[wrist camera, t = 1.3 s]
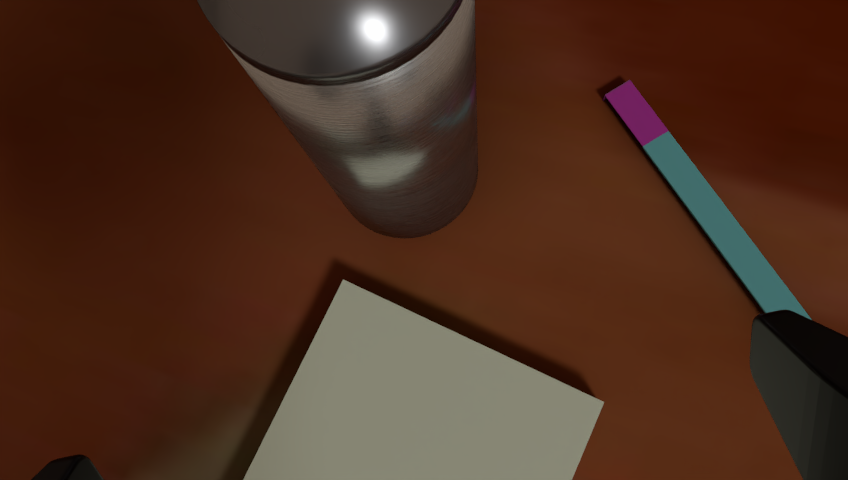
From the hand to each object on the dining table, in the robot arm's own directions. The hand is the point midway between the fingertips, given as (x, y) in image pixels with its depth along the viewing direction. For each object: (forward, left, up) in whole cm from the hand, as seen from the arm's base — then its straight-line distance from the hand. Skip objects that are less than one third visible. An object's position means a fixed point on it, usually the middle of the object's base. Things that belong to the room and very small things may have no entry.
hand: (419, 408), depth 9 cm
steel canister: (+6, +5, -13) cm, 16 cm away
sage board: (-3, 0, -13) cm, 14 cm away
